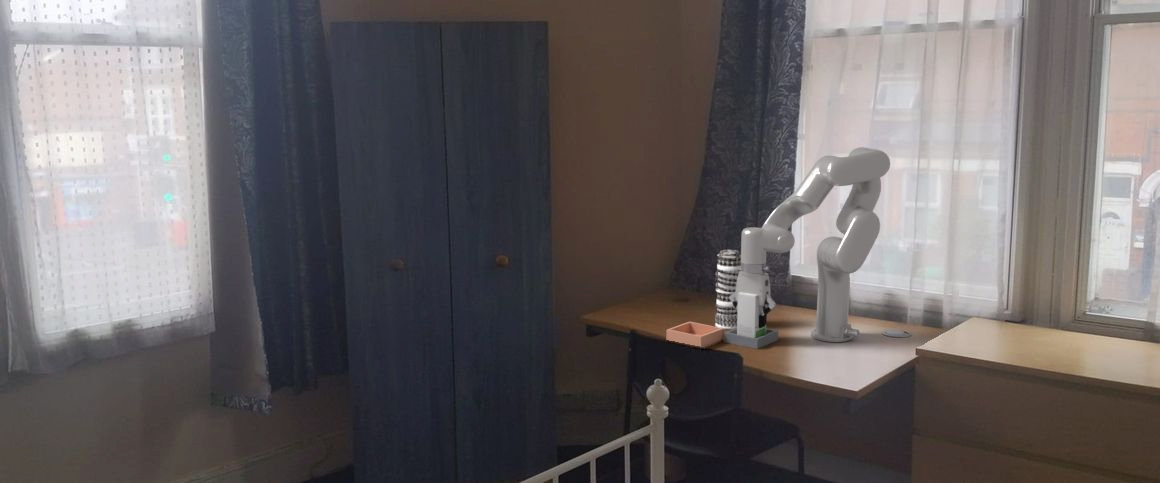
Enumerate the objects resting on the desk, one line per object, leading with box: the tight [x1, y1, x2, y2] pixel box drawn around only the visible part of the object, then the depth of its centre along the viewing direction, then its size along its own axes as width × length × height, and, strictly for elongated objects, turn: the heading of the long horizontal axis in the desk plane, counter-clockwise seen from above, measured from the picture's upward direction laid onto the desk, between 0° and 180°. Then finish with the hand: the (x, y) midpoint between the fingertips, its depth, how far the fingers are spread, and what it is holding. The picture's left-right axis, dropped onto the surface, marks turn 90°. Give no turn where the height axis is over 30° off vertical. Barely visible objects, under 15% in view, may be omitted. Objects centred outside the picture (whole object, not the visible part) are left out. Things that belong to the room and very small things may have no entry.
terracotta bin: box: [665, 321, 725, 348], centre depth 284 cm, size 13×13×4 cm
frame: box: [723, 327, 779, 350], centre depth 284 cm, size 12×13×3 cm
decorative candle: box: [714, 249, 741, 330], centre depth 300 cm, size 9×9×25 cm
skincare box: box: [737, 292, 768, 338], centre depth 283 cm, size 8×7×16 cm
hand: (751, 324), depth 284 cm, fingers closed on skincare box, 6 cm apart
